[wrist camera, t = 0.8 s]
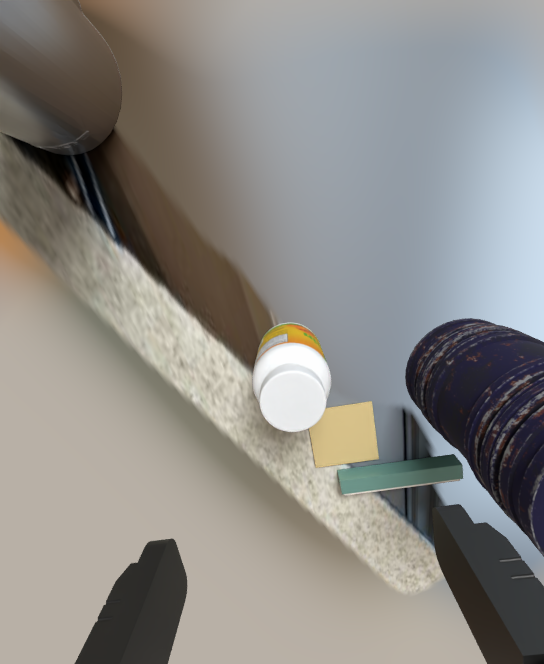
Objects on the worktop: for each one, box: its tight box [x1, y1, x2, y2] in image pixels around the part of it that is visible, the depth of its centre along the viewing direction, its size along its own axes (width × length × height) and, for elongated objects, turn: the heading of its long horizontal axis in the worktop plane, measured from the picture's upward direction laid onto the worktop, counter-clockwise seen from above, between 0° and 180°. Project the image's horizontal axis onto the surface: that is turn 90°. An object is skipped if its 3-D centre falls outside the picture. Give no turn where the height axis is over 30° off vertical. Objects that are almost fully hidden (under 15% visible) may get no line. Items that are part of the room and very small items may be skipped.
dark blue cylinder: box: [405, 318, 544, 556], centre depth 21 cm, size 10×10×15 cm
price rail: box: [337, 454, 463, 496], centre depth 30 cm, size 2×11×2 cm, turn 101°
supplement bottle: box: [252, 323, 331, 432], centre depth 24 cm, size 5×5×10 cm
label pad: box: [309, 401, 379, 468], centre depth 30 cm, size 6×6×1 cm
